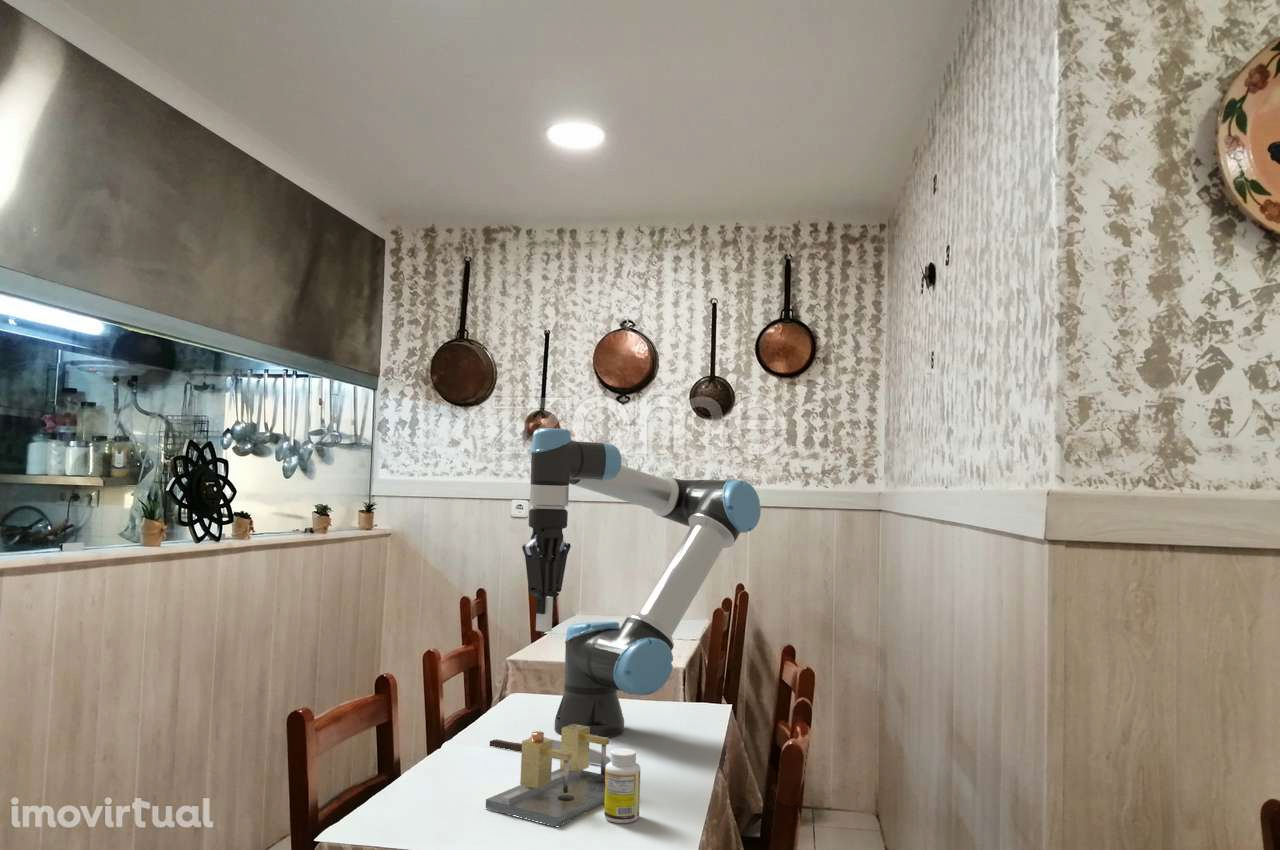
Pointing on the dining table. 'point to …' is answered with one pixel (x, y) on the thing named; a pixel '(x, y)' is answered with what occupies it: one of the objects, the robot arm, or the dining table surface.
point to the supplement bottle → (622, 787)
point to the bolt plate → (553, 798)
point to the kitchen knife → (593, 754)
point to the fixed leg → (581, 747)
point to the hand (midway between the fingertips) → (543, 630)
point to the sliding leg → (541, 762)
